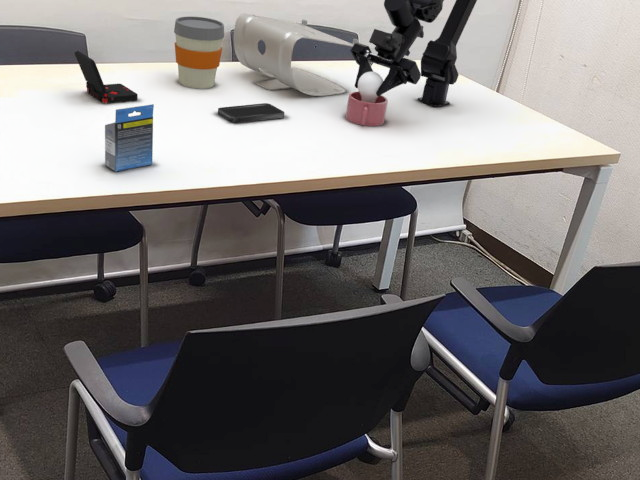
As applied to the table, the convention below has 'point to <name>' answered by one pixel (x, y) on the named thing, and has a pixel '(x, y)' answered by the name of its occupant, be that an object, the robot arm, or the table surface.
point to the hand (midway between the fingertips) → (366, 91)
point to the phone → (250, 112)
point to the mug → (366, 110)
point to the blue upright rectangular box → (129, 139)
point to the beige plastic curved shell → (281, 53)
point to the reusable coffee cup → (198, 50)
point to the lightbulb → (369, 86)
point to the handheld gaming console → (96, 86)
